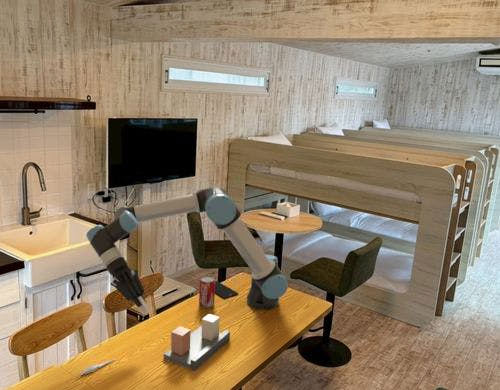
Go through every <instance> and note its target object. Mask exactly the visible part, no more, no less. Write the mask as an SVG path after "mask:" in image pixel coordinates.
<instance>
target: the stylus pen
mask: <svg viewBox="0 0 500 390" xmlns="http://www.w3.org/2000/svg"><path fill="white" fill-rule="evenodd" d="M114 360H115V361H116V360H117V359H116V358H115V359H111V360H107V361H104V362H101V363H98V364H92V365H90V366H88V367H86V368H84V369H83V370H81V371H80V372H77V375H78V376H79V375H81V374H83V373H84V374H87V373H88V374H91V373H90V372H93V371H95V370H96V369H97V370H99V369H98V368H100V367H102V366H104V365H106V364H108V363H109V364H111V363H113V362H114ZM112 361H113V362H112ZM110 362H111V363H110ZM109 364H108V365H109ZM106 366H107V365H106ZM104 367H105V366H104ZM102 368H103V367H102ZM100 369H101V368H100ZM97 370H96V371H97ZM96 371H95V372H96ZM93 373H94V372H93ZM88 374H87V375H88Z"/></svg>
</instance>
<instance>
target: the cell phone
mask: <svg viewBox="0 0 500 390" xmlns="http://www.w3.org/2000/svg"><path fill="white" fill-rule="evenodd" d="M214 281H215V295H217V296H218V297H220V299H221V298H222V299H223V300H228V299H230V298H234V297H236V296H238V295H239V292H237V291H235V290H234V289H231V288H230V287H228V286H226V285H225V284H223V283H221V282H219V281H217V280H214Z"/></svg>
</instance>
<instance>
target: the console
mask: <svg viewBox="0 0 500 390" xmlns="http://www.w3.org/2000/svg"><path fill="white" fill-rule="evenodd" d="M230 340H231V331H229V330H227V329H225V330H224V331H223V332H220V331H219V336H218V337H217V338H215V339H214V340H213V341H210V340H207V339H205V338H202V325H200V326H198V327H197V328H196V329H195V330H193V331H192V332H190V350H188V351H187V352H186V353H185V354H183V355H179V354H177V353H174V352H171V348H169V349H168V350H167V351H166V352H164V353H163V360H166V361H168V362H170V363H172V364H175V365H178V366H181V367H183V368H185V369H188V370H191V371H193V372H196V371H198V369H200V367H202V366H203V365H204V364H205V363H207V362H208V361H209V360H210V359H211V358H212V357H213V356H215V354H216V353H217V352H218V351H220V350H221V349H222V348H223V347H224V346H225V345H226V344H227V343H229V341H230Z"/></svg>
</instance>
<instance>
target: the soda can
mask: <svg viewBox="0 0 500 390" xmlns="http://www.w3.org/2000/svg"><path fill="white" fill-rule="evenodd" d="M215 281H216V280H215V278H214V277H213V276H209V275H206V276H202V277H201V278H200V281H199V290H198V291H199V292H198V294H199V295H198V305H199V306H200V307H202V308H203V309H208V308H209V309H210V308H212V307H213V306H214V305H215V295H216V294H215Z"/></svg>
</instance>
